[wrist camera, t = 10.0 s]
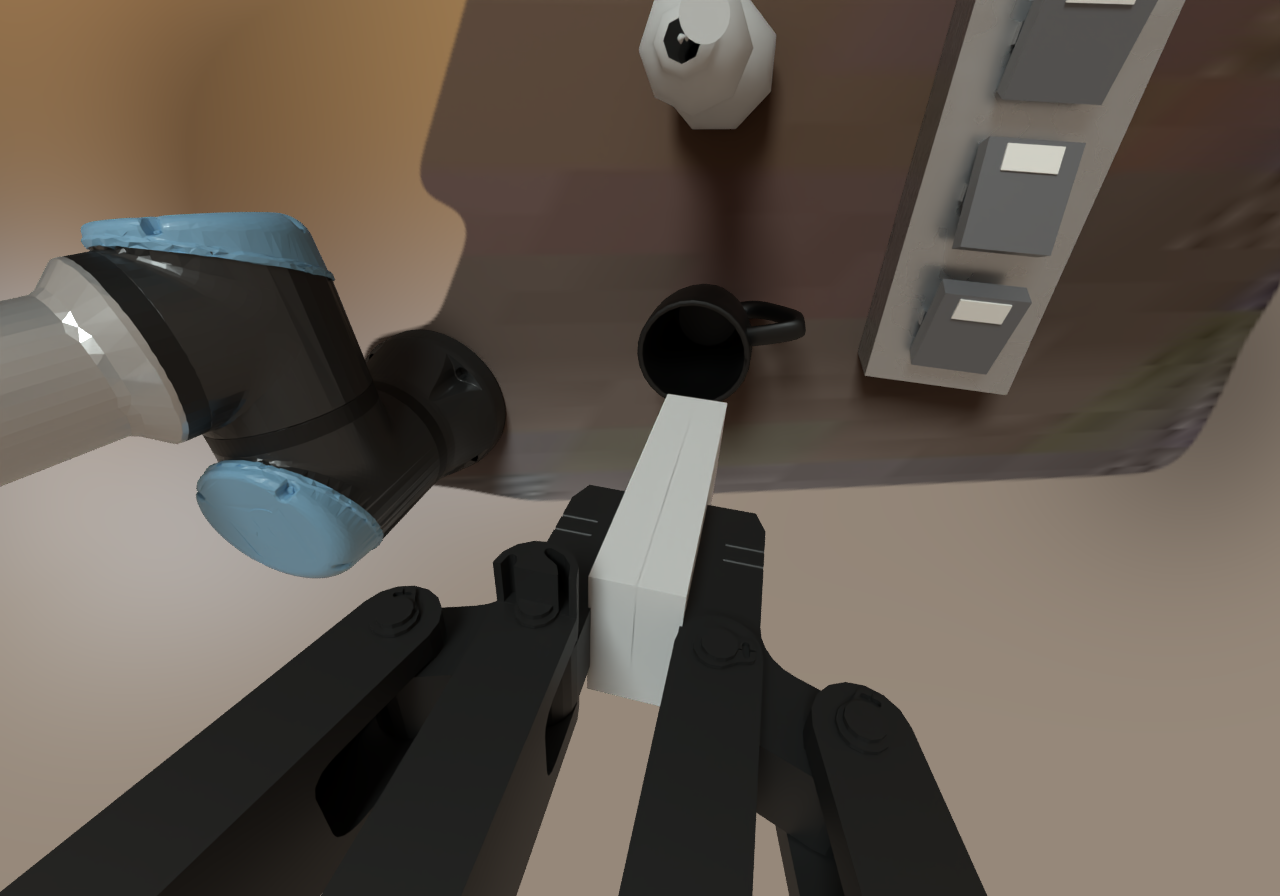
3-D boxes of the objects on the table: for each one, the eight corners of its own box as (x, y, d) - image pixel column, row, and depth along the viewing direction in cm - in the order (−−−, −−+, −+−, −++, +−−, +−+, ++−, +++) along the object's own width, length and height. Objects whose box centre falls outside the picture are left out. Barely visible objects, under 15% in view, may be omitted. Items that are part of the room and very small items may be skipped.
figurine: (689, 151, 41) (622, 174, 25) (650, 34, 38) (544, -30, 22) (792, 103, 38) (796, 92, 22) (760, -29, 35) (735, -158, 19)
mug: (809, 345, 47) (813, 391, 39) (673, 368, 51) (652, 415, 43) (796, 246, 43) (798, 275, 35) (651, 279, 47) (623, 312, 39)
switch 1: (996, 91, 32) (1002, 100, 31) (1053, -49, 27) (1063, -44, 26) (1092, 96, 31) (1102, 106, 30) (1167, -47, 26) (1182, -42, 25)
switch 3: (909, 350, 40) (911, 365, 39) (942, 278, 36) (945, 294, 34) (982, 359, 39) (986, 376, 38) (1026, 287, 35) (1032, 304, 34)
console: (857, 352, 46) (865, 379, 41) (974, -63, 32) (1006, -94, 28) (989, 369, 44) (1014, 399, 40) (1171, -60, 31) (1242, -93, 26)
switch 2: (951, 248, 35) (961, 246, 33) (979, 143, 33) (991, 135, 31) (1037, 257, 34) (1052, 255, 32) (1070, 149, 32) (1087, 142, 31)
